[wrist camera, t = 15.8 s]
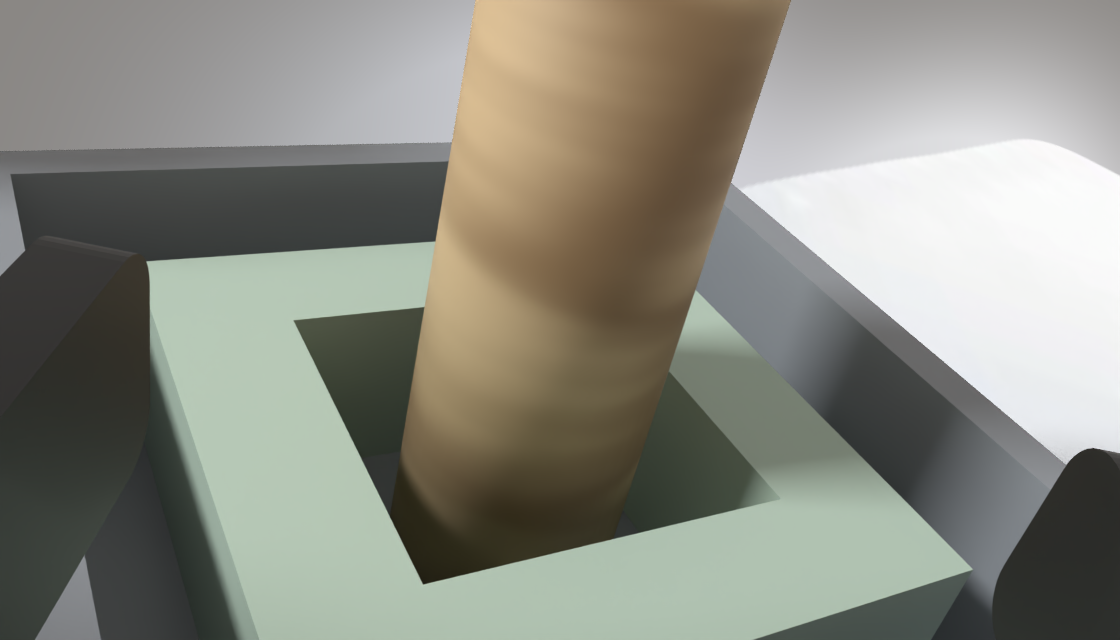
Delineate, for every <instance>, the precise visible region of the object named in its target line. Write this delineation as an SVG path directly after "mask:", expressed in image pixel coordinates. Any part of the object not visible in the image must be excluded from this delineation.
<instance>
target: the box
mask: <svg viewBox="0 0 1120 640" xmlns="http://www.w3.org/2000/svg"><path fill="white" fill-rule="evenodd" d="M451 145H452V143H404V144H353V145H352V144H351V145H302V146H301V145H299V146H253V147H252V146H250V147H249V146H248V147H201V148H200V147H197V148H146V149H97V150H96V149H95V150H46V151H45V150H44V151H0V276H1V275H2V274H3V273H4V272H5V271H6V269H7V268H8V267H9V266H10V265H11V264H12V263H13V262H14V261H15V260H16V259H17V258H18V257H19V256H20V255H21V254H22V253H23V252H24V251H25V250H26V249H27V248H28V247H29V246H30V245H31V244H32V243H33V242H34V241H36V240H37V239H38V238H40V237H42V236H53V237H58V238H63V239H68V240H73V241H78V242H83V243H88V244H93V245H98V246H102V247H107V248H112V249H117V250H122V251H127V252H132V253H137V254H141V255H142V256H143V257H144V258H145V260H146V261H160V260H175V259H189V258H204V257H218V256H233V255H247V254H262V253H276V252H291V251H305V250H320V249H334V248H349V247H363V246H378V245H392V244H407V243H421V242H435V241H436V235H437V229H438V223H439V217H440V211H441V205H442V199H443V193H444V187H445V181H446V175H447V169H448V163H449V157H450V151H451ZM696 291H697V292H698V293H699V294H700V295H701V296H702V297H703V298H704V299H705V300H706V301H707V302H708V303H709V304H710V305H711V306H712V307H713V308H714V309H715V310H716V311H717V312H718V313H719V314H720V315H721V316H722V317H723V318H724V319H725V320H726V321H727V322H728V323H729V324H730V325H731V326H732V327H733V328H734V329H735V330H736V331H737V332H738V333H739V334H740V335H741V336H742V337H743V338H744V339H745V340H746V341H747V342H748V343H749V344H750V345H751V346H752V347H753V348H754V349H755V350H756V351H757V352H758V353H759V354H760V355H761V356H762V357H763V358H764V359H765V360H766V361H767V362H768V363H769V364H770V365H771V366H772V367H773V368H774V369H775V370H776V371H777V372H778V373H779V374H780V375H781V376H782V377H783V378H784V379H785V380H786V381H787V382H788V383H789V384H790V385H791V386H792V387H793V388H794V389H795V390H796V391H797V392H798V393H799V394H800V395H801V397H802V398H803V399H804V400H805V401H806V402H807V403H808V404H809V405H810V406H811V407H812V408H813V409H814V410H815V411H816V412H817V413H818V414H819V415H820V416H821V417H822V418H823V419H824V420H825V421H826V422H827V423H828V424H829V425H830V426H831V427H832V428H833V429H834V430H835V431H836V432H837V433H838V434H839V435H840V436H841V437H842V438H843V439H844V440H845V441H846V442H847V443H848V444H849V445H850V446H851V447H852V448H853V449H854V450H855V451H856V452H857V453H858V454H859V455H860V456H861V457H862V458H863V459H864V460H865V461H866V462H867V463H868V464H869V465H870V466H871V467H872V468H873V469H874V470H875V471H876V472H877V473H878V474H879V475H880V476H881V477H882V478H883V479H884V480H885V481H886V482H887V483H888V484H889V485H890V486H891V487H892V488H893V489H894V490H895V491H896V492H897V493H898V494H899V495H900V496H901V497H902V498H903V499H904V500H905V501H906V502H907V503H908V504H909V505H910V506H911V507H912V508H913V509H914V510H915V511H916V512H917V513H918V514H919V515H920V516H921V517H922V518H923V519H924V520H925V521H926V522H927V523H928V524H929V525H930V526H931V527H932V529H933V530H934V531H935V532H936V533H937V534H938V535H939V536H940V537H941V538H942V539H943V540H944V541H945V542H946V543H947V544H948V545H949V546H950V547H951V548H952V549H953V550H954V551H955V552H956V553H957V554H958V555H959V556H960V557H961V558H962V559H963V560H964V561H965V562H966V563H967V564H968V565H969V566H970V567H971V568H972V569H973V571H972V572H971V574H970V576H969V577H968V579H967V581H966V582H965V584H964V586H963V587H962V589H961V591H960V592H959V594H958V596H957V597H956V599H955V601H954V602H953V604H952V606H951V607H950V609H949V611H948V612H947V614H946V616H945V617H944V619H943V621H942V622H941V624H940V626H939V627H938V629H937V631H936V632H935V634H934V636H933V637H932V639H931V640H996V638H995V635H994V629H993V621H992V603H993V595H994V590H995V586H996V582H997V579H998V577H999V574H1000V572H1001V570H1002V568H1003V566H1004V564H1005V563H1006V561H1007V559H1008V558H1009V556H1010V555H1011V553H1012V551H1013V550H1014V548H1015V547H1016V545H1017V543H1018V542H1019V540H1020V539H1021V537H1022V535H1023V534H1024V532H1025V531H1026V529H1027V527H1028V526H1029V524H1030V522H1031V521H1032V519H1033V518H1034V516H1035V514H1036V513H1037V511H1038V510H1039V508H1040V506H1041V505H1042V503H1043V502H1044V500H1045V498H1046V497H1047V495H1048V494H1049V492H1050V490H1051V489H1052V487H1053V486H1054V484H1055V482H1056V481H1057V479H1058V477H1059V476H1060V474H1061V473H1062V471H1063V469H1064V468H1065V467H1066V465H1065V464H1064V463H1063V462H1062V461H1061V460H1059V459H1058V458H1057V457H1056V456H1055V455H1054V454H1052V453H1051V452H1050V451H1049V450H1048V449H1046V448H1045V447H1044V446H1043V445H1042V444H1040V443H1039V442H1038V441H1037V440H1036V439H1035V438H1033V437H1032V436H1031V435H1030V434H1029V433H1027V432H1026V431H1025V430H1024V429H1023V428H1021V427H1020V426H1019V425H1018V424H1017V423H1016V422H1014V421H1013V420H1012V419H1011V418H1010V417H1008V416H1007V415H1006V414H1005V413H1004V412H1002V411H1001V410H1000V409H999V408H998V407H997V406H995V405H994V404H993V403H992V402H991V401H989V400H988V399H987V398H986V397H985V396H983V395H982V394H981V393H980V392H979V391H978V390H976V389H975V388H974V387H973V386H972V385H970V384H969V383H968V382H967V381H966V380H964V379H963V378H962V377H961V376H960V375H959V374H957V373H956V372H955V371H954V370H953V369H951V368H950V367H949V366H948V365H947V364H945V363H944V362H943V361H942V360H941V359H940V358H938V357H937V356H936V355H935V354H934V353H932V352H931V351H930V350H929V349H928V348H926V347H925V346H924V345H923V344H922V343H921V342H919V341H918V340H917V339H916V338H915V337H913V336H912V335H911V334H910V333H909V332H907V331H906V330H905V329H904V328H903V327H902V326H900V325H899V324H898V323H897V322H896V321H894V320H893V319H892V318H891V317H890V316H888V315H887V314H886V313H885V312H884V311H883V310H881V309H880V308H879V307H878V306H877V305H875V304H874V303H873V302H872V301H871V300H869V299H868V298H867V297H866V296H865V295H863V294H862V293H861V292H860V291H859V290H858V289H856V288H855V287H854V286H853V285H852V284H850V283H849V282H848V281H847V280H846V279H844V278H843V277H842V276H841V275H840V274H839V273H837V272H836V271H835V270H834V269H833V268H831V267H830V266H829V265H828V264H827V263H825V262H824V261H823V260H822V259H821V258H820V257H818V256H817V255H816V254H815V253H814V252H812V251H811V250H810V249H809V248H808V247H806V246H805V245H804V244H803V243H802V242H801V241H799V240H798V239H797V238H796V237H795V236H793V235H792V234H791V233H790V232H789V231H787V230H786V229H785V228H784V227H783V226H782V225H780V224H779V223H778V222H777V221H776V220H774V219H773V218H772V217H771V216H770V215H768V214H767V213H766V212H765V211H764V210H763V209H761V208H760V207H759V206H758V205H757V204H755V203H754V202H753V201H752V200H751V199H749V198H748V197H747V196H746V195H745V194H744V193H742V192H741V191H740V190H739V189H738V188H736V187H735V186H734V185H733V184H732V183H731V184H730V187H729V190H728V193H727V196H726V199H725V202H724V205H723V208H722V211H721V214H720V217H719V220H718V223H717V226H716V229H715V232H714V235H713V238H712V241H711V244H710V247H709V250H708V254H707V257H706V260H705V263H704V266H703V269H702V272H701V275H700V278H699V281H698V284H697V287H696ZM400 452H401V451H400ZM400 452H394V453H388V454H382V455H376V456H370V457H364V458H361V459H362V461H363V463H364V465H365V467H366V469H367V472H368V474H369V476H370V478H371V480H372V482H373V484H374V486H375V488H376V490H377V492H378V494H379V496H380V498H381V500H382V502H383V504H384V506H385V508H386V510H387V512H388V514H389V516H390V512H391V506H392V500H393V494H394V488H395V482H396V476H397V470H398V464H399V458H400ZM637 533H639V532H638V530H637V529H636V527H635V526H634V525H633V523H632V522H631V520H630V519H629V518H628V516H627V515H626V513H625V512H624V511H622V514H621V517H620V520H619V523H618V526H617V529H616V532H615V535H614V538H613V539H616V538H620V537H624V536H629V535H633V534H637ZM35 640H199V637H198V634H197V630H196V626H195V623H194V619H193V616H192V612H191V608H190V605H189V601H188V598H187V594H186V590H185V587H184V583H183V580H182V576H181V572H180V569H179V565H178V562H177V558H176V554H175V551H174V547H173V544H172V540H171V536H170V533H169V529H168V526H167V522H166V518H165V515H164V511H163V508H162V504H161V501H160V497H159V493H158V490H157V486H156V483H155V479H154V475H153V472H152V468H151V465H150V461H149V457H148V454H147V450H146V447H145V443H143V446H142V449H141V452H140V456H139V458H138V461H137V463H136V466H135V468H134V470H133V473H132V475H131V476H130V478H129V480H128V482H127V484H126V485H125V487H124V489H123V490H122V492H121V494H120V496H119V497H118V499H117V501H116V502H115V504H114V506H113V507H112V509H111V511H110V513H109V514H108V516H107V518H106V519H105V521H104V523H103V525H102V526H101V528H100V530H99V531H98V533H97V535H96V536H95V538H94V540H93V542H92V543H91V545H90V547H89V548H88V550H87V552H86V554H85V555H84V557H83V559H82V560H81V562H80V564H79V565H78V567H77V569H76V571H75V572H74V574H73V576H72V577H71V579H70V581H69V583H68V584H67V586H66V588H65V589H64V591H63V593H62V595H61V596H60V598H59V600H58V601H57V603H56V605H55V606H54V608H53V610H52V612H51V613H50V615H49V617H48V618H47V620H46V622H45V624H44V625H43V627H42V629H41V630H40V632H39V634H38V635H37V637H36V639H35Z"/></svg>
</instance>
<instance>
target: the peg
mask: <svg viewBox="0 0 1120 640" xmlns="http://www.w3.org/2000/svg"><path fill="white" fill-rule="evenodd" d="M790 2H791V0H476V1H475V7H474V13H473V19H472V25H471V31H470V38H469V43H468V49H467V56H466V62H465V67H464V74H463V79H462V85H461V91H460V98H459V103H458V109H457V116H456V121H455V127H454V134H453V139H452V145H451V151H450V157H449V163H448V169H447V175H446V181H445V187H444V193H443V199H442V205H441V211H440V217H439V223H438V229H437V235H436V241H435V247H434V253H433V259H432V265H431V271H430V277H429V284H428V290H427V296H426V302H425V308H424V314H423V320H422V326H421V332H420V338H419V344H418V350H417V356H416V362H415V368H414V374H413V380H412V386H411V392H410V398H409V404H408V410H407V416H406V422H405V428H404V434H403V440H402V446H401V452H400V458H399V464H398V470H397V476H396V482H395V488H394V494H393V500H392V506H391V512H390V518H391V520H392V522H393V525H394V527H395V529H396V531H397V533H398V535H399V537H400V539H401V541H402V543H403V545H404V547H405V549H406V551H407V553H408V555H409V557H410V559H411V561H412V563H413V565H414V567H415V569H416V571H417V573H418V575H419V578H420V580H421V582H422V584H423V585H424V584H428V583H432V582H436V581H441V580H445V579H449V578H453V577H457V576H461V575H466V574H470V573H474V572H478V571H482V570H487V569H491V568H495V567H499V566H503V565H507V564H512V563H516V562H520V561H524V560H528V559H533V558H537V557H541V556H545V555H549V554H553V553H558V552H562V551H566V550H570V549H574V548H579V547H583V546H587V545H591V544H595V543H599V542H604V541H608V540H612V539H613V538H614V535H615V532H616V529H617V526H618V523H619V520H620V517H621V514H622V511H623V508H624V505H625V502H626V499H627V496H628V493H629V490H630V487H631V484H632V481H633V478H634V475H635V472H636V469H637V466H638V463H639V460H640V457H641V453H642V450H643V447H644V444H645V441H646V438H647V435H648V432H649V429H650V426H651V423H652V420H653V417H654V414H655V411H656V408H657V405H658V402H659V399H660V396H661V393H662V390H663V387H664V384H665V381H666V378H667V375H668V372H669V369H670V366H671V363H672V360H673V357H674V353H675V350H676V347H677V344H678V341H679V338H680V335H681V332H682V329H683V326H684V323H685V320H686V317H687V314H688V311H689V308H690V305H691V302H692V299H693V296H694V293H695V290H696V287H697V284H698V281H699V278H700V275H701V272H702V269H703V266H704V263H705V260H706V257H707V254H708V250H709V247H710V244H711V241H712V238H713V235H714V232H715V229H716V226H717V223H718V220H719V217H720V214H721V211H722V208H723V205H724V202H725V199H726V196H727V193H728V190H729V187H730V184H731V181H732V177H733V174H734V172H735V169H736V165H737V163H738V159H739V157H740V154H741V150H742V147H743V144H744V141H745V138H746V135H747V132H748V129H749V126H750V123H751V120H752V117H753V114H754V111H755V108H756V105H757V102H758V99H759V96H760V93H761V89H762V87H763V84H764V80H765V78H766V75H767V71H768V69H769V66H770V63H771V60H772V57H773V54H774V50H775V47H776V44H777V41H778V38H779V35H780V32H781V29H782V26H783V23H784V20H785V17H786V14H787V11H788V8H789V5H790Z"/></svg>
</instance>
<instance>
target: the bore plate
mask: <svg viewBox="0 0 1120 640" xmlns="http://www.w3.org/2000/svg"><path fill="white" fill-rule="evenodd" d="M434 247H435V242H421V243H407V244H392V245H378V246H363V247H349V248H334V249H320V250H305V251H291V252H276V253H262V254H247V255H233V256H218V257H204V258H189V259H175V260H160V261H146V262H147V265H148V269H149V277H150V411H149V419H148V425H147V430H146V435H145V439H144V443H145V447H146V450H147V454H148V457H149V461H150V465H151V468H152V472H153V475H154V479H155V483H156V486H157V490H158V493H159V497H160V501H161V504H162V508H163V511H164V515H165V518H166V522H167V526H168V529H169V533H170V536H171V540H172V544H173V547H174V551H175V554H176V558H177V562H178V565H179V569H180V572H181V576H182V580H183V583H184V587H185V590H186V594H187V598H188V601H189V605H190V608H191V612H192V616H193V619H194V623H195V626H196V630H197V634H198V637H199V640H931V639H932V637H933V636H934V634H935V632H936V631H937V629H938V627H939V626H940V624H941V622H942V621H943V619H944V617H945V616H946V614H947V612H948V611H949V609H950V607H951V606H952V604H953V602H954V601H955V599H956V597H957V596H958V594H959V592H960V591H961V589H962V587H963V586H964V584H965V582H966V581H967V579H968V577H969V576H970V574H971V572H972V571H973V569H972V568H971V567H970V566H969V565H968V564H967V563H966V562H965V561H964V560H963V559H962V558H961V557H960V556H959V555H958V554H957V553H956V552H955V551H954V550H953V549H952V548H951V547H950V546H949V545H948V544H947V543H946V542H945V541H944V540H943V539H942V538H941V537H940V536H939V535H938V534H937V533H936V532H935V531H934V530H933V529H932V527H931V526H930V525H929V524H928V523H927V522H926V521H925V520H924V519H923V518H922V517H921V516H920V515H919V514H918V513H917V512H916V511H915V510H914V509H913V508H912V507H911V506H910V505H909V504H908V503H907V502H906V501H905V500H904V499H903V498H902V497H901V496H900V495H899V494H898V493H897V492H896V491H895V490H894V489H893V488H892V487H891V486H890V485H889V484H888V483H887V482H886V481H885V480H884V479H883V478H882V477H881V476H880V475H879V474H878V473H877V472H876V471H875V470H874V469H873V468H872V467H871V466H870V465H869V464H868V463H867V462H866V461H865V460H864V459H863V458H862V457H861V456H860V455H859V454H858V453H857V452H856V451H855V450H854V449H853V448H852V447H851V446H850V445H849V444H848V443H847V442H846V441H845V440H844V439H843V438H842V437H841V436H840V435H839V434H838V433H837V432H836V431H835V430H834V429H833V428H832V427H831V426H830V425H829V424H828V423H827V422H826V421H825V420H824V419H823V418H822V417H821V416H820V415H819V414H818V413H817V412H816V411H815V410H814V409H813V408H812V407H811V406H810V405H809V404H808V403H807V402H806V401H805V400H804V399H803V398H802V397H801V395H800V394H799V393H798V392H797V391H796V390H795V389H794V388H793V387H792V386H791V385H790V384H789V383H788V382H787V381H786V380H785V379H784V378H783V377H782V376H781V375H780V374H779V373H778V372H777V371H776V370H775V369H774V368H773V367H772V366H771V365H770V364H769V363H768V362H767V361H766V360H765V359H764V358H763V357H762V356H761V355H760V354H759V353H758V352H757V351H756V350H755V349H754V348H753V347H752V346H751V345H750V344H749V343H748V342H747V341H746V340H745V339H744V338H743V337H742V336H741V335H740V334H739V333H738V332H737V331H736V330H735V329H734V328H733V327H732V326H731V325H730V324H729V323H728V322H727V321H726V320H725V319H724V318H723V317H722V316H721V315H720V314H719V313H718V312H717V311H716V310H715V309H714V308H713V307H712V306H711V305H710V304H709V303H708V302H707V301H706V300H705V299H704V298H703V297H702V296H701V295H700V294H699V293H698V292H697V291H696V290H695V293H694V296H693V299H692V302H691V305H690V308H689V311H688V314H687V317H686V320H685V323H684V326H683V329H682V332H681V335H680V338H679V341H678V344H677V347H676V350H675V353H674V357H673V360H672V363H671V366H670V369H669V372H668V375H667V378H666V381H665V384H664V387H663V390H662V393H661V396H660V399H659V402H658V405H657V408H656V411H655V414H654V417H653V420H652V423H651V426H650V429H649V432H648V435H647V438H646V441H645V444H644V447H643V450H642V453H641V457H640V460H639V463H638V466H637V469H636V472H635V475H634V478H633V481H632V484H631V487H630V490H629V493H628V496H627V499H626V502H625V505H624V508H623V511H624V512H625V513H626V515H627V516H628V518H629V519H630V520H631V522H632V523H633V525H634V526H635V527H636V529H637V530H638V532H639V533H637V534H633V535H629V536H624V537H620V538H616V539H612V540H608V541H604V542H599V543H595V544H591V545H587V546H583V547H579V548H574V549H570V550H566V551H562V552H558V553H553V554H549V555H545V556H541V557H537V558H533V559H528V560H524V561H520V562H516V563H512V564H507V565H503V566H499V567H495V568H491V569H487V570H482V571H478V572H474V573H470V574H466V575H461V576H457V577H453V578H449V579H445V580H441V581H436V582H432V583H428V584H424V585H423V584H422V582H421V580H420V578H419V575H418V573H417V571H416V569H415V567H414V565H413V563H412V561H411V559H410V557H409V555H408V553H407V551H406V549H405V547H404V545H403V543H402V541H401V539H400V537H399V535H398V533H397V531H396V529H395V527H394V525H393V522H392V520H391V518H390V516H389V514H388V512H387V510H386V508H385V506H384V504H383V502H382V500H381V498H380V496H379V494H378V492H377V490H376V488H375V486H374V484H373V482H372V480H371V478H370V476H369V474H368V472H367V469H366V467H365V465H364V463H363V461H362V459H361V458H364V457H370V456H376V455H382V454H388V453H394V452H400V451H401V446H402V440H403V434H404V428H405V422H406V416H407V410H408V404H409V398H410V392H411V386H412V380H413V374H414V368H415V362H416V356H417V350H418V344H419V338H420V332H421V326H422V320H423V314H424V308H425V302H426V296H427V290H428V284H429V277H430V271H431V265H432V259H433V253H434Z"/></svg>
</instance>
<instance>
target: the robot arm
mask: <svg viewBox="0 0 1120 640" xmlns="http://www.w3.org/2000/svg"><path fill="white" fill-rule="evenodd" d="M149 411H150V277H149V269H148V265H147V262H146V260H145V258H144V257H143V256H142V255H141V254H137V253H132V252H127V251H122V250H117V249H112V248H107V247H102V246H98V245H93V244H88V243H83V242H78V241H73V240H68V239H63V238H58V237H53V236H42V237H40V238H38V239H37V240H36V241H34V242H33V243H32V244H31V245H30V246H29V247H28V248H27V249H26V250H25V251H24V252H23V253H22V254H21V255H20V256H19V257H18V258H17V259H16V260H15V261H14V262H13V263H12V264H11V265H10V266H9V267H8V268H7V269H6V271H5V272H4V273H3V274H2V275H1V276H0V640H35V639H36V637H37V635H38V634H39V632H40V630H41V629H42V627H43V625H44V624H45V622H46V620H47V618H48V617H49V615H50V613H51V612H52V610H53V608H54V606H55V605H56V603H57V601H58V600H59V598H60V596H61V595H62V593H63V591H64V589H65V588H66V586H67V584H68V583H69V581H70V579H71V577H72V576H73V574H74V572H75V571H76V569H77V567H78V565H79V564H80V562H81V560H82V559H83V557H84V555H85V554H86V552H87V550H88V548H89V547H90V545H91V543H92V542H93V540H94V538H95V536H96V535H97V533H98V531H99V530H100V528H101V526H102V525H103V523H104V521H105V519H106V518H107V516H108V514H109V513H110V511H111V509H112V507H113V506H114V504H115V502H116V501H117V499H118V497H119V496H120V494H121V492H122V490H123V489H124V487H125V485H126V484H127V482H128V480H129V478H130V476H131V475H132V473H133V470H134V468H135V466H136V463H137V461H138V458H139V456H140V452H141V449H142V446H143V443H144V439H145V435H146V430H147V425H148V419H149ZM992 621H993V629H994V635H995V638H996V640H1120V453H1116V452H1111V451H1106V450H1101V449H1095V448H1092V449H1086V450H1084V451H1081V452H1079V453H1078V454H1077V455H1075V456H1074V457H1073V458H1072V459H1071V460H1070V461H1069V462H1068V464H1067V465H1066V467H1065V468H1064V469H1063V471H1062V473H1061V474H1060V476H1059V477H1058V479H1057V481H1056V482H1055V484H1054V486H1053V487H1052V489H1051V490H1050V492H1049V494H1048V495H1047V497H1046V498H1045V500H1044V502H1043V503H1042V505H1041V506H1040V508H1039V510H1038V511H1037V513H1036V514H1035V516H1034V518H1033V519H1032V521H1031V522H1030V524H1029V526H1028V527H1027V529H1026V531H1025V532H1024V534H1023V535H1022V537H1021V539H1020V540H1019V542H1018V543H1017V545H1016V547H1015V548H1014V550H1013V551H1012V553H1011V555H1010V556H1009V558H1008V559H1007V561H1006V563H1005V564H1004V566H1003V568H1002V570H1001V572H1000V574H999V577H998V579H997V582H996V586H995V590H994V595H993V603H992Z"/></svg>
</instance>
